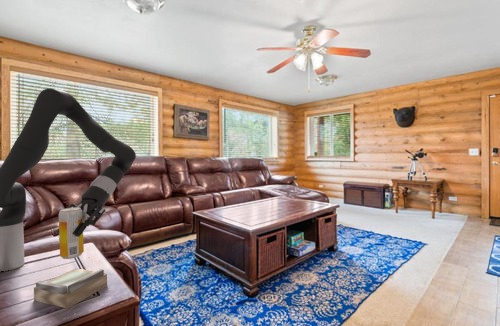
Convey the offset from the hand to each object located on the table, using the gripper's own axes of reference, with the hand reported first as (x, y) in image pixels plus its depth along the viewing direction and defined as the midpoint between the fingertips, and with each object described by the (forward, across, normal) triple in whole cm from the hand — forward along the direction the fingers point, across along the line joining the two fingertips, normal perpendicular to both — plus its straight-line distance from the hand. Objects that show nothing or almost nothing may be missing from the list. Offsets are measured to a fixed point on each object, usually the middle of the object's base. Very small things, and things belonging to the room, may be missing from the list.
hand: (67, 234), depth 76 cm
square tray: (+13, 0, +14) cm, 19 cm away
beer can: (+4, 0, +6) cm, 8 cm away
